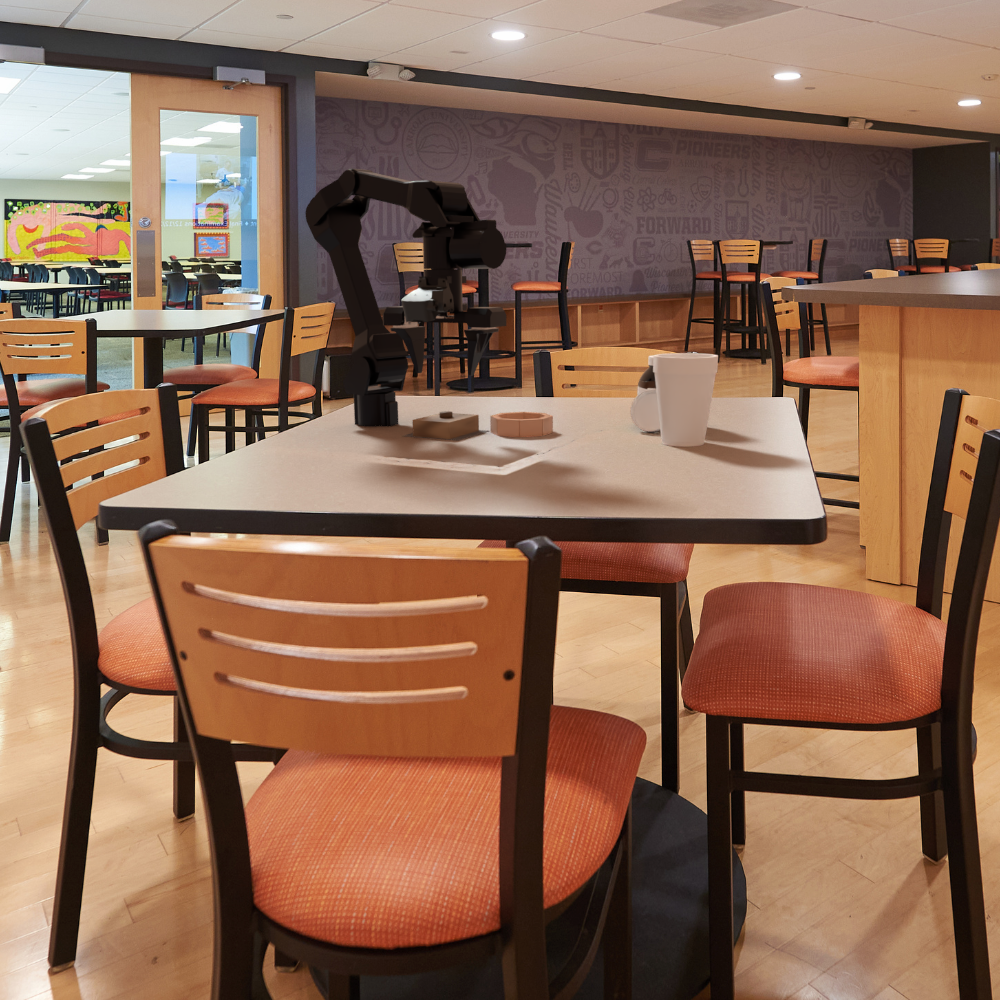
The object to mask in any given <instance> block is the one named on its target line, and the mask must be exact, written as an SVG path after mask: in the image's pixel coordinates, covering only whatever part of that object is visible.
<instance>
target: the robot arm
mask: <svg viewBox="0 0 1000 1000" xmlns="http://www.w3.org/2000/svg"><path fill="white" fill-rule="evenodd" d="M465 189H466V188H465V186H464V185H462V184H461V183H459V182H449V181H438V180H424V179H423V180H413V181H412V180H408V179H403V178H398V177H394V176H389V175H385V174H380V173H376V172H373V171H372V170H370V169H361V168H360V169H359V168H348V169H346V170H344V171H343V172H342V173H341V174H340V176H339V177H338V178H336V180H334V181H333V182H331V183H329V184H327V185H326V186H324V187H322V188H321V189H320V190H318V192H317V193H316V194H315V195H314V197H312V199H310V201H309V203H308V204H307V206H306V208H305V212H304V213H305V220H306V223H307V225H308V228H309V229H310V233H311V234H312V236H313V240H315V242H317V244H319V245H320V247H322V249H323V250H324V251H326V253H328V255H329V258H330V260H331V264H332V267H333V270H334V273H335V276H336V279H337V282H338V286H339V288H340V292H341V295H342V298H343V301H344V305H345V307H346V310H347V313H348V316H349V320H350V322H351V326H352V328H353V329H352V330H353V332H354V341H353V344H352V345H353V346H352V350H351V358H352V363H353V364H352V367H351V368H350V369H349V371H348V373H346V376H344V379H342V384H343V387H344V392H345V394H347V395H353V410H354V411H353V412H354V413H353V414H354V415H353V417H354V425H356V426H357V425H358V426H360V427H368V428H369V427H370V428H373V427H375V428H377V427H393V426H398V425H399V405H398V404H399V403H398V401H397V399H396V392H402V391H403V390H404V385H405V381H406V376H407V372H408V370H409V361H408V358H407V357H410V359H411V363H412V365H413V368H414V371H415V373H416V374H422V373H423V369H424V368H423V367H424V360H425V339H426V326H422V325H421V326H419V324H421V323H439V324H440V323H442V324H445V323H446V324H466V325H468V327H469V328H470V329H463V332H464V334H465V337H466V339H467V357H466V358H467V360H466V361H467V364H466V365H467V366H466V367H467V375H468V376H470V377H472V376H474V375H475V372H476V371H477V367H478V366H479V363H480V360H481V358H482V355H484V352H485V349H486V348H487V346H488V343H489V341H490V340H491V338H492V336H493V334H494V333H498V332H499V327H500V328H501V327H507V314H506V311H505V310H504V308H503V307H502V306H501V307H500V306H479V307H477V306H476V307H468V306H467V303H463V284H467V276H466V275H463V269H464V270H474V269H475V270H477V269H478V270H487V269H488V270H489V269H491V270H492V269H497V268H499V267H500V266H501V265H503V263H504V261H505V258H506V255H507V243H506V241H505V238H504V236H503V234H502V232H501V231H500V230H499V229H498V228H497V220H496V219H487V218H486V219H480V217H479V216H478V214H477V212H476V211H475V209H474V207H473V205H472V204H471V201H470V200H469V198H468V196H467V191H466V190H465ZM351 196H353V197H352V199H351V198H350V197H351ZM371 200H376V201H380V202H384V203H387V204H392V205H396V206H398V207H399V206H400V207H402V208H404V209H406V210H407V211H408V213H409V214H411V215H412V216H414V217H415V218H418V219H420V220H422V221H421V224H420V225H419V227H418V228H417V229H415V230H414V231H413V233H412V238H414V239H422V249H423V250H422V253H423V254H422V255H423V257H422V258H423V261H422V262H423V276H418V281H417V284H418V286H417V288H416V289H414V290H412V291H411V292H409V293H407V295H405V296H404V297H403V298H402V299H401V306H399V305H398V306H387V307H385V310H384V311H383V313H382V315H381V312H380V311H381V310H380V308H379V305H378V303H377V302H378V301H377V299H376V295H375V293H374V289H373V285H372V284H371V281H370V278H369V274H368V272H367V269H366V266H365V262H364V259H363V256H362V253H361V250H360V246H359V244H360V239H361V235H362V231H363V225H362V222H361V220H362V219H363V217H364V216H366V214H367V213H368V212H369V208H370V202H371ZM448 314H449V315H448ZM450 314H451V315H450ZM386 326H391V327H390V328H389V329H390V331H391V332H390V331H389V329H387V327H386ZM405 347H406V348H407V350H406V348H405Z"/></svg>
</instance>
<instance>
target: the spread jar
mask: <svg viewBox="0 0 1000 1000" xmlns="http://www.w3.org/2000/svg"><path fill="white" fill-rule="evenodd" d="M654 355H655V354H654ZM654 355H648V358H647V359H648V362H647V364H648V365H647V366H648V367H647V369H645V370H644V371H643V373H642V375H640V377H639V380H638V382H637V395H636V397H635V398H634V399H633V401H632V403H631V406H630V412H629V414H630V417H631V421H632V423H633V424H634V425H635V427H637V428H638V429H640V430H641V431H642V432H643V431H644V432H646V433H652V434H653V433H658V432H661V431H660V421H659V412H658V402H657V392H656V382H655V372H653V356H654Z"/></svg>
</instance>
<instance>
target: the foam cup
mask: <svg viewBox="0 0 1000 1000" xmlns="http://www.w3.org/2000/svg"><path fill="white" fill-rule="evenodd" d="M718 363H719V355H718V354H712V353H697V352H695V353H694V352H693V353H691V352H687V353H686V352H683V353H682V352H677V353H671V352H670V353H657V354H654V356H653V372H655V382H656V392H657V402H658V412H659V421H660V431H659V432H660V439H661V444H663V445H665V446H671V447H680V448H683V447H685V448H686V447H700V446H703V445H705V440H706V436H707V429H708V423H709V418H710V417H709V416H710V411H711V405H712V401H713V399H712V398H713V393H714V387H715V382H716V381H715V380H716V375H717V373H718V368H719V365H718Z"/></svg>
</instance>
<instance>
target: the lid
mask: <svg viewBox="0 0 1000 1000" xmlns="http://www.w3.org/2000/svg"><path fill="white" fill-rule="evenodd" d="M479 417H480V415H479V414H474V413H473V414H472V413H455V412H453V411H449V410H448V411H447V410H445V411H439V413H435V414H432V415H427V416H423V417H419V418H415V419H412V433H413V436H417V437H430V438H443V439H452V438H455V437H459V436H462V435H465V434H469V433H472V432H476V431H479V430H480V420H479V419H480V418H479ZM417 437H416V438H417ZM430 438H429V439H430ZM443 439H442V440H443Z"/></svg>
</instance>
